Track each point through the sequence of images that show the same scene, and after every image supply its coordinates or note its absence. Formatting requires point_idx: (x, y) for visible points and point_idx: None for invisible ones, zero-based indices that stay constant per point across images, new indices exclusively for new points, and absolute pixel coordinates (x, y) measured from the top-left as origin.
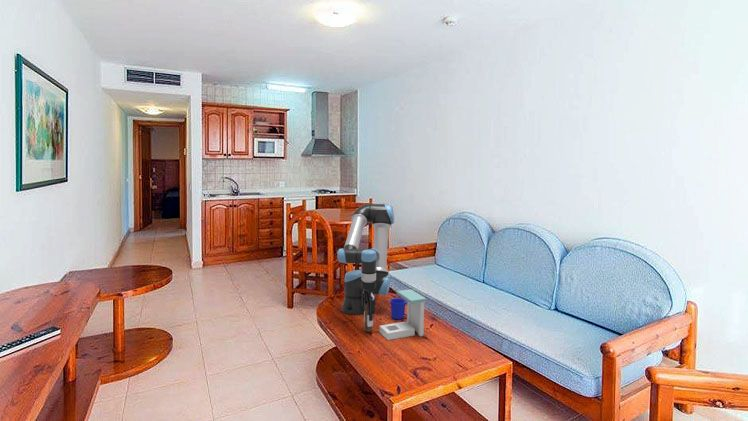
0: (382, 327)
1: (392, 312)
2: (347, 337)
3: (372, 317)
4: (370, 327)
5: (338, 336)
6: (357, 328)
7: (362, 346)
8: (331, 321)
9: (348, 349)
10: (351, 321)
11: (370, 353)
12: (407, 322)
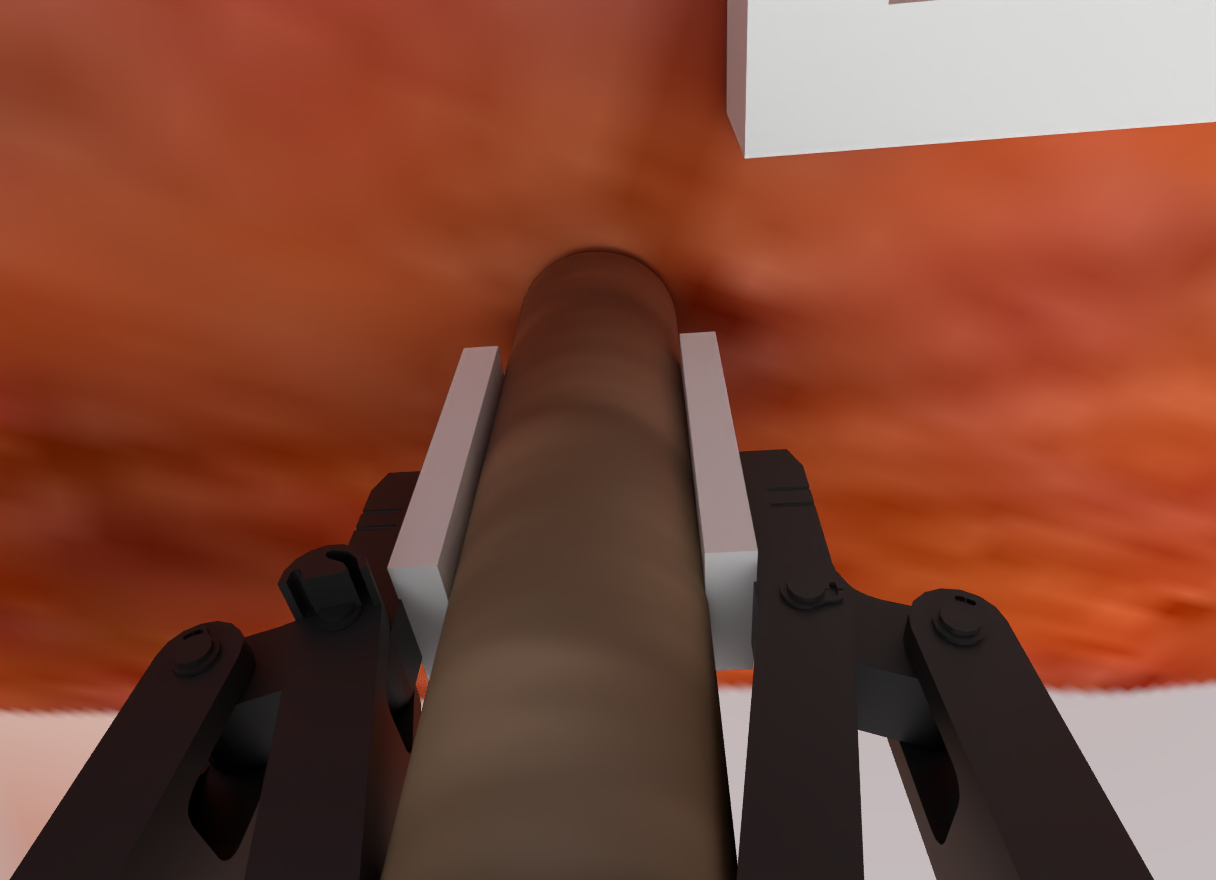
0: (891, 118)
1: None
2: None
3: (816, 519)
4: (678, 353)
5: None
6: (429, 445)
7: (1085, 543)
8: (134, 667)
9: (1042, 682)
10: (111, 455)
11: None
12: None
